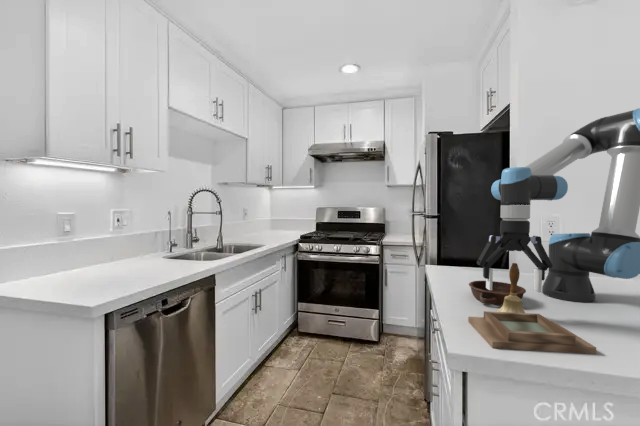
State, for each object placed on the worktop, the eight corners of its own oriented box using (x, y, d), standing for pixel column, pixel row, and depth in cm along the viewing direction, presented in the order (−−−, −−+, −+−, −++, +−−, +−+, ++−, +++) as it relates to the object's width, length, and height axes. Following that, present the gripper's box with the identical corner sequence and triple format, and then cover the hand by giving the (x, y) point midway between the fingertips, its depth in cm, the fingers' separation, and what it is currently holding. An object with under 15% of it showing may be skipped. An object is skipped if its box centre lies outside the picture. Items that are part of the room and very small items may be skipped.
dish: (530, 298, 111) (531, 284, 111) (519, 314, 95) (519, 298, 95) (478, 289, 123) (478, 276, 123) (459, 302, 107) (460, 287, 106)
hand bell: (528, 314, 95) (529, 262, 94) (529, 323, 88) (531, 267, 87) (497, 309, 99) (498, 259, 98) (495, 317, 92) (497, 264, 91)
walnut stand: (551, 325, 85) (552, 313, 85) (596, 354, 70) (596, 338, 69) (468, 321, 88) (468, 309, 88) (492, 347, 72) (492, 333, 72)
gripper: (552, 219, 94) (550, 288, 95) (466, 218, 98) (465, 285, 98) (568, 220, 87) (566, 295, 88) (475, 219, 90) (473, 292, 91)
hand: (513, 290), depth 93 cm, fingers open, 13 cm apart
